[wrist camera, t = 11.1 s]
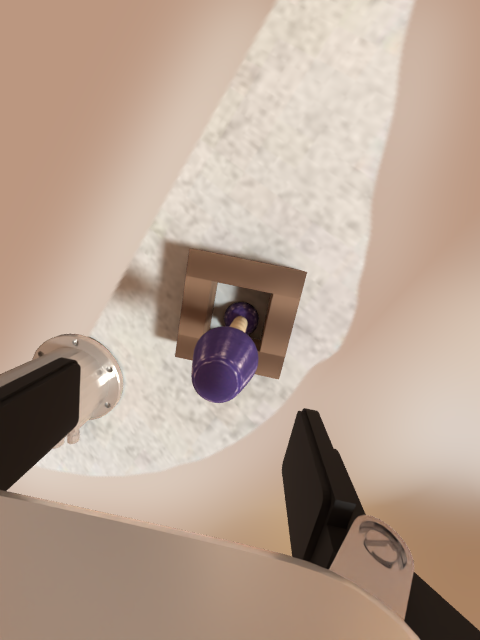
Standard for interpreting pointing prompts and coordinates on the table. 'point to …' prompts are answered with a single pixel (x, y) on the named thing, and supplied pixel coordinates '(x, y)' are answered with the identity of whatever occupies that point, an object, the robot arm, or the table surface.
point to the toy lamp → (226, 355)
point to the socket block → (247, 274)
